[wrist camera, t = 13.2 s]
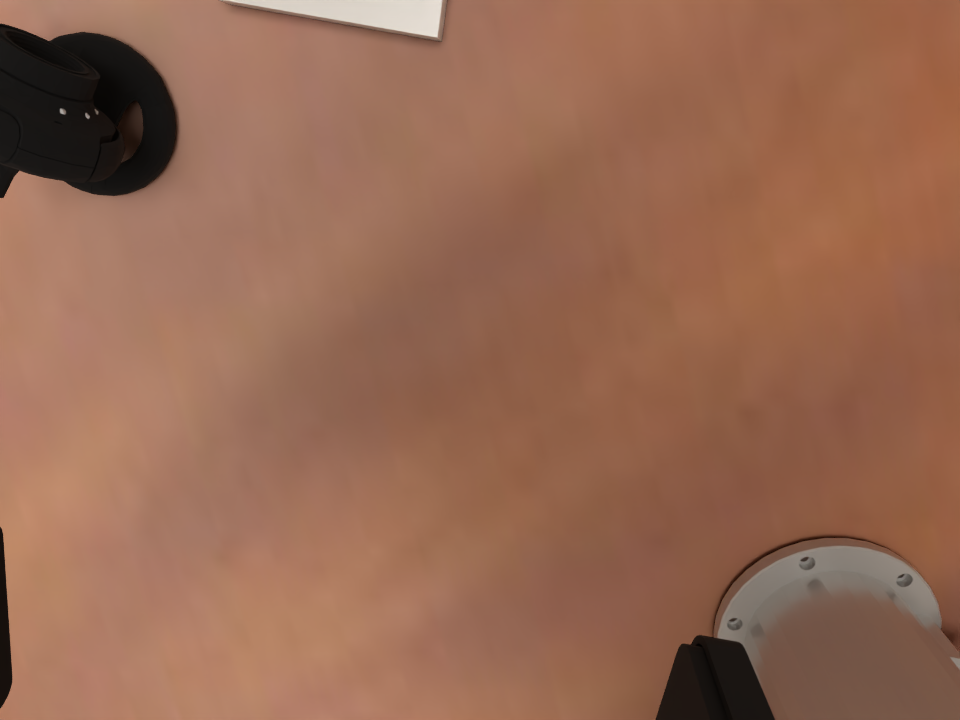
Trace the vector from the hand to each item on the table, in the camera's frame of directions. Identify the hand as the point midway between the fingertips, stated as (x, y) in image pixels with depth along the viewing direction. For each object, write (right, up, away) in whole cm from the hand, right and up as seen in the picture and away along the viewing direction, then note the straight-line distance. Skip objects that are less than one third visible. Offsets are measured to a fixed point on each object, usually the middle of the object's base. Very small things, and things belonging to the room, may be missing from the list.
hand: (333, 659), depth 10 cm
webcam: (-16, +16, +26) cm, 34 cm away
